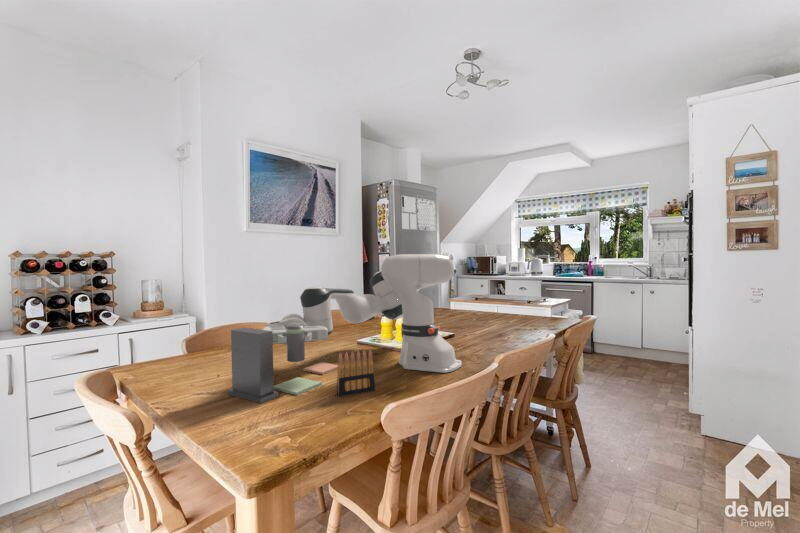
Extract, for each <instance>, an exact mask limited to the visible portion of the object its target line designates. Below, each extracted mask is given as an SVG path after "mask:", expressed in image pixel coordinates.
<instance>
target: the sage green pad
mask: <svg viewBox="0 0 800 533" xmlns="http://www.w3.org/2000/svg"><path fill="white" fill-rule="evenodd" d="M322 385H323V381H318V380H313V379H308V378H304V377H299V376H297V377H295V378H292V379H289V380H287V381H284V382H281V383H278V384H276V385H274V391H277V390H278V391H277V392H281V391H282V393H285V392H286V394H289V393H290V395H294V396H299V395H301V394H303V393H305V392H308V391H311V390H313V389H316V388H318V387H320V386H322Z"/></svg>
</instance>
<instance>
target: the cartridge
mask: <svg viewBox="0 0 800 533" xmlns="http://www.w3.org/2000/svg"><path fill="white" fill-rule="evenodd" d="M304 332H305V328H304V325H289V326H287V328H286V333H287V345H286V359H287V360H286V361H287V362H289V363H298V362H303V361H304V360H306V359H305V358H306V357H305V342H304Z"/></svg>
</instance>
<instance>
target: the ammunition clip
mask: <svg viewBox="0 0 800 533" xmlns="http://www.w3.org/2000/svg"><path fill="white" fill-rule="evenodd" d="M350 352H351V353H350V357H349V355H348V352H347V351H346V352H345V354H344V358H343V355H342V353H341V352H339V354H338V359H337V360H338V361H337V362H338V363H337V365H338V369H337V380H336V381H337V382H336V383H337V384H336V395H337V396H338V397H345V396H350V395H356V394H357V395H358V394H362V393H368V392H369V393H370V392H375V391H376V389H375V387H376V386H375V373H374V361H373V359H374V358H373V352H372V349H371V348H369V349H368V354H367V352H366V349H363V350H362V354H361V353H360V350H357V352H356V355H355V353H354V351H353V350H352V351H350ZM361 355H362V356H361ZM355 356H356V358H355ZM361 357H362V358H361ZM349 358H350V359H349ZM343 359H344V362H343ZM361 360H362V361H361ZM349 361H350V362H349Z"/></svg>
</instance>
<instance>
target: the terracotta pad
mask: <svg viewBox="0 0 800 533" xmlns="http://www.w3.org/2000/svg"><path fill="white" fill-rule="evenodd" d="M336 369H337V370H338V364H334V363H328V362H323V361H320V362H318V363H315V364H312V365H310V366H306V367H303V368H302V371H303V372H306V371H307V373H311V372H312V374H317V375H321V374H322V376H324V375H326V374H328V372H329V373H331V371H332V372H334V371H337V370H336ZM323 374H324V375H323Z"/></svg>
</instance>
